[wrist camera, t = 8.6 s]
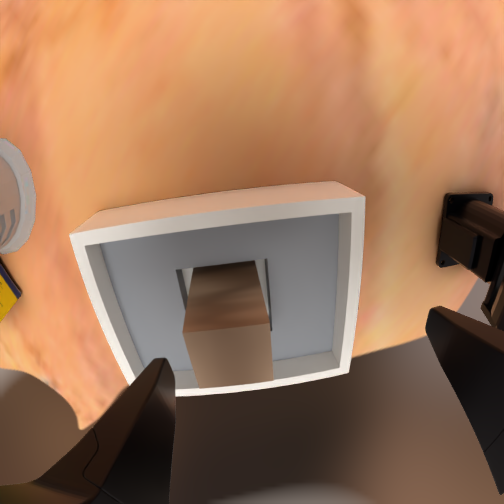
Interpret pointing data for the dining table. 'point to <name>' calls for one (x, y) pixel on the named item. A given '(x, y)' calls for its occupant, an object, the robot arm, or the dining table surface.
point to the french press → (15, 198)
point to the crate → (248, 211)
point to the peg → (228, 326)
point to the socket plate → (223, 252)
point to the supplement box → (7, 293)
